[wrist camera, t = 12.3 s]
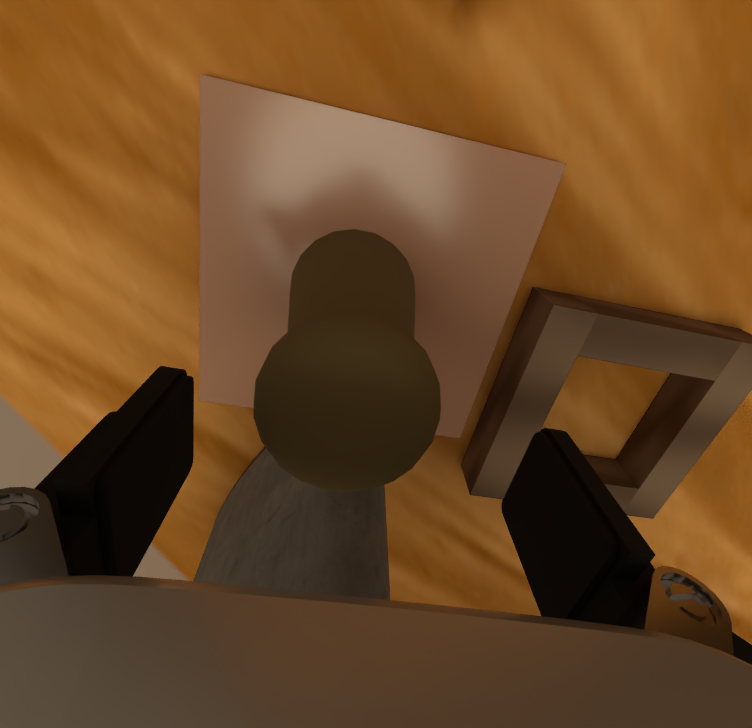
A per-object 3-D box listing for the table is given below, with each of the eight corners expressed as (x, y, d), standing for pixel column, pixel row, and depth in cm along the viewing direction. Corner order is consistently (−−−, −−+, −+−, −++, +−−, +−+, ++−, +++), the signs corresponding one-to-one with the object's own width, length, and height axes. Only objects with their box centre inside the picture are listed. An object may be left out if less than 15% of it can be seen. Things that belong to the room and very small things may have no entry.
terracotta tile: (457, 432, 25) (459, 438, 24) (203, 394, 23) (199, 400, 22) (560, 163, 18) (566, 163, 17) (204, 76, 16) (200, 74, 15)
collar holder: (629, 488, 28) (652, 518, 25) (460, 464, 26) (470, 495, 24) (739, 328, 22) (781, 349, 20) (533, 287, 20) (553, 305, 18)
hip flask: (248, 544, 29) (83, 1152, 12) (195, 522, 28) (-76, 1175, 11) (391, 404, 23) (470, 1270, 6) (332, 366, 21) (205, 1362, 4)
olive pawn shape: (338, 369, 22) (322, 553, 12) (263, 277, 19) (165, 416, 9) (438, 309, 20) (509, 464, 11) (370, 201, 18) (384, 274, 8)
